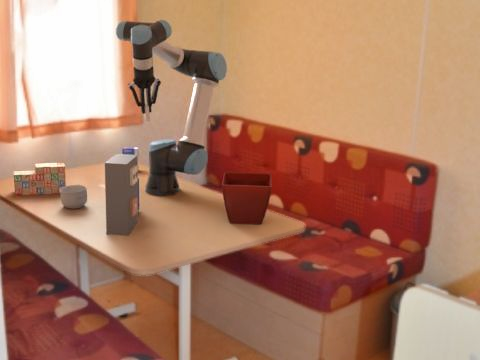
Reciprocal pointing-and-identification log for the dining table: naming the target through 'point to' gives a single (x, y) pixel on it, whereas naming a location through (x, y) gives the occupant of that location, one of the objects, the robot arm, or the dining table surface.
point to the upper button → (133, 175)
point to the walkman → (130, 151)
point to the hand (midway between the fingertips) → (147, 119)
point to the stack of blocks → (40, 179)
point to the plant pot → (246, 196)
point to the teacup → (74, 196)
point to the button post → (120, 194)
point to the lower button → (133, 206)
